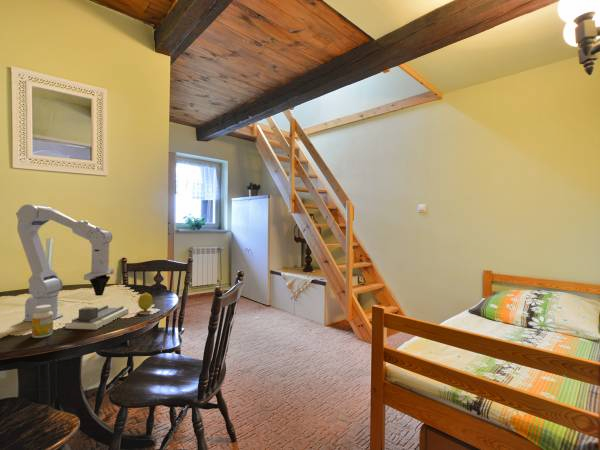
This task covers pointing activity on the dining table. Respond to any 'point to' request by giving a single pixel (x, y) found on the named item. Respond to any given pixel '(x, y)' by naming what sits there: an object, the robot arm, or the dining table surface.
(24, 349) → the dining table surface
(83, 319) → the fader knob
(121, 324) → the dining table surface
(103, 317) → the fader console
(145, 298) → the yellow oval piece
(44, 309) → the supplement bottle
